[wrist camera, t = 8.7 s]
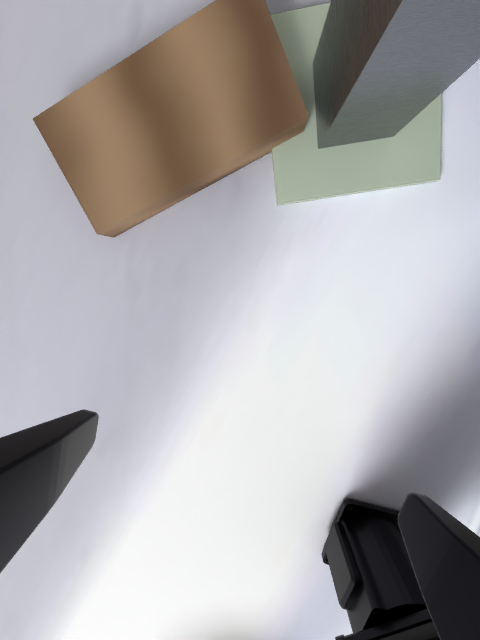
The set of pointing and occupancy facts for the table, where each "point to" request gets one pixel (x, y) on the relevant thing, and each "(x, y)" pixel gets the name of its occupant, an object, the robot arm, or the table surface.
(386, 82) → the grey knobbed post
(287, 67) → the brown wooden flat block
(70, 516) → the table surface
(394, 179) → the felt pad
